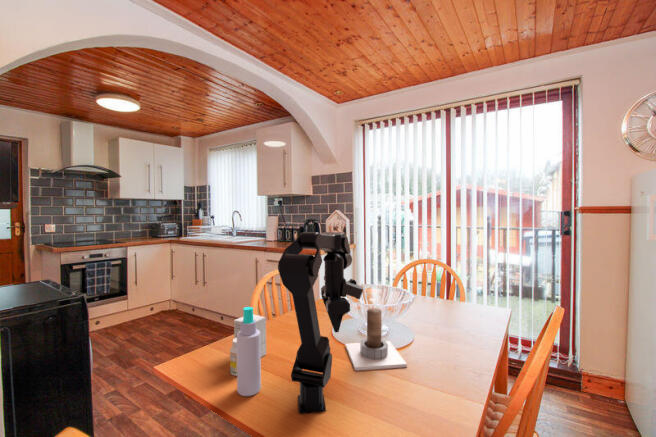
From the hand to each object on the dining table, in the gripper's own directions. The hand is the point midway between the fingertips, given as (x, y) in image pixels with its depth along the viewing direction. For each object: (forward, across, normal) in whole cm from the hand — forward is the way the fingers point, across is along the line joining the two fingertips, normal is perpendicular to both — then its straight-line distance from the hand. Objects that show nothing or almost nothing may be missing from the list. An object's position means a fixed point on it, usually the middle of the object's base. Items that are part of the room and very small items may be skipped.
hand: (334, 325), depth 92 cm
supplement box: (+13, +11, +26) cm, 31 cm away
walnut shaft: (+12, +6, -14) cm, 19 cm away
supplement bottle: (+13, +2, +28) cm, 31 cm away
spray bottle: (+13, -8, +24) cm, 29 cm away
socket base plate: (+13, +6, -14) cm, 20 cm away
